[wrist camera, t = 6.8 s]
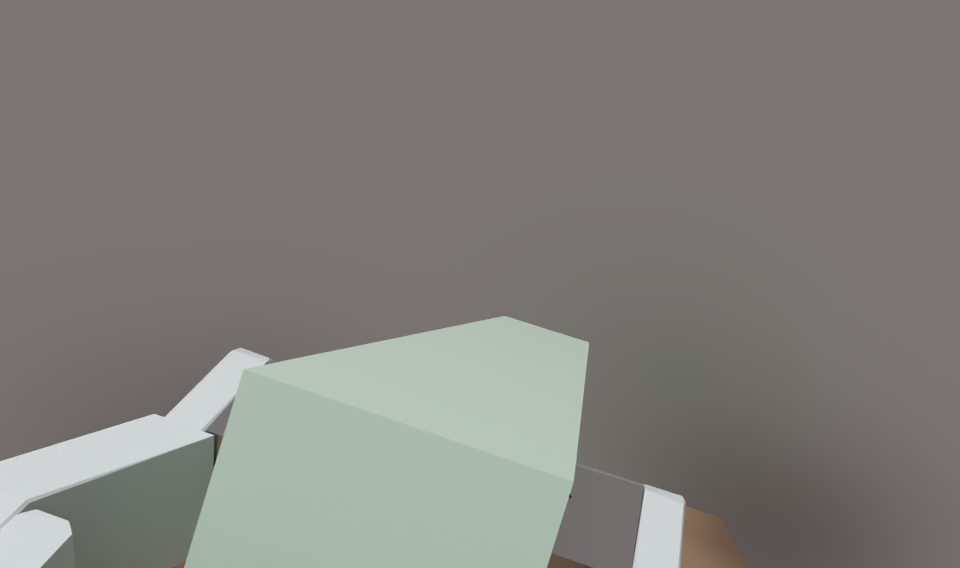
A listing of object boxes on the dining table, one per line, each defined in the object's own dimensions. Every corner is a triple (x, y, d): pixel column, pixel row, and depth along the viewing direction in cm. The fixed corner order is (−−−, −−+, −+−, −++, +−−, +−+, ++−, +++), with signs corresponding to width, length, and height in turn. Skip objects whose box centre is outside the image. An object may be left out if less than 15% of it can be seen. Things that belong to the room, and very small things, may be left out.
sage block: (554, 455, 28) (588, 342, 27) (432, 937, 7) (573, 480, 7) (470, 426, 28) (504, 316, 28) (114, 799, 7) (243, 368, 7)
